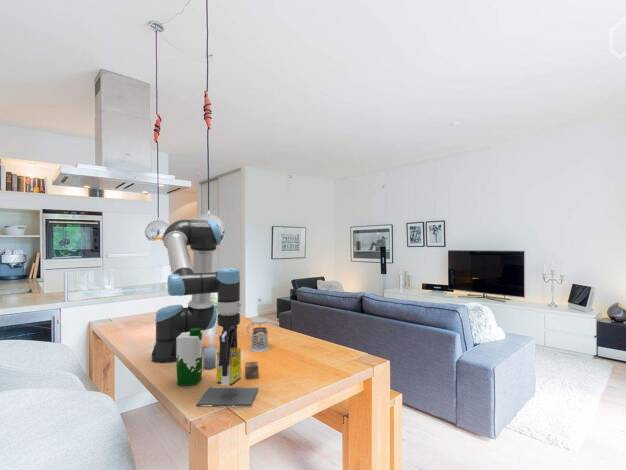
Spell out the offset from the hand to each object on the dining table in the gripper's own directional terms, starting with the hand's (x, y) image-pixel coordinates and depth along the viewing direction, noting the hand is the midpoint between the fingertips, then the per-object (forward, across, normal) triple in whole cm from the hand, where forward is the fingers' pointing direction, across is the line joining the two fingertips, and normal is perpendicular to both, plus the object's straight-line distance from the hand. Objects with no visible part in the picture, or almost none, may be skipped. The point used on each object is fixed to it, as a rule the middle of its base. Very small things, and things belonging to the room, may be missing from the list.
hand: (228, 379), depth 115 cm
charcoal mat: (+6, 0, 0) cm, 6 cm away
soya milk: (+6, +13, +19) cm, 24 cm away
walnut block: (+6, +18, -4) cm, 20 cm away
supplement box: (+1, 0, 0) cm, 1 cm away
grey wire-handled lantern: (+6, +52, 0) cm, 52 cm away
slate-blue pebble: (+6, +27, +16) cm, 32 cm away
